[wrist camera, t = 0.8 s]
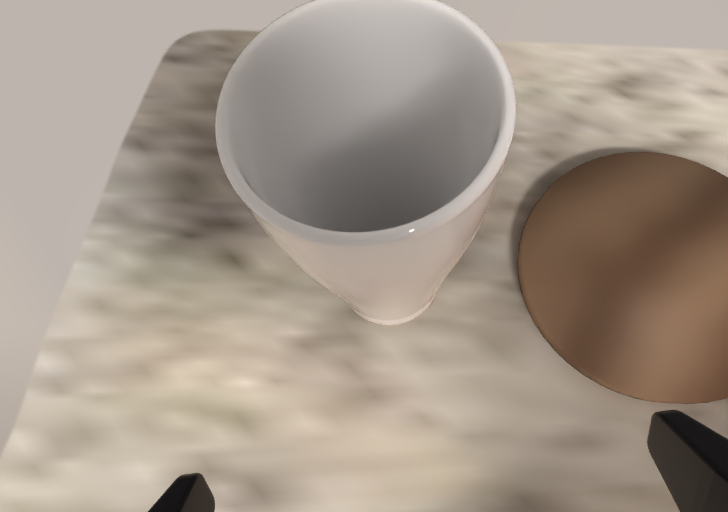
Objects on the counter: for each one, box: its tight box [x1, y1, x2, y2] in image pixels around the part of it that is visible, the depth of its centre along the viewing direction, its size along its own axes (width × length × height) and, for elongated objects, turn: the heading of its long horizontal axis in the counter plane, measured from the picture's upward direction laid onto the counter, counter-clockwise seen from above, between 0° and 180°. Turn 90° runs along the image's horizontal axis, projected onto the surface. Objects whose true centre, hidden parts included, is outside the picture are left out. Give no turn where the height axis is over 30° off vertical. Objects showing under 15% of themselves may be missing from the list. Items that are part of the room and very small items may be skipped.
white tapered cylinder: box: [215, 0, 516, 325], centre depth 16 cm, size 7×7×15 cm
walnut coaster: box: [518, 152, 728, 404], centre depth 22 cm, size 13×13×1 cm
